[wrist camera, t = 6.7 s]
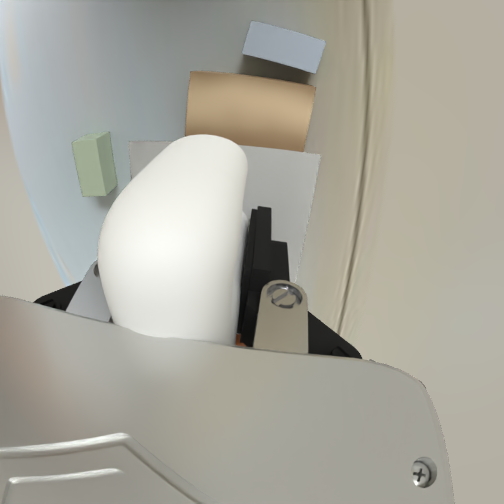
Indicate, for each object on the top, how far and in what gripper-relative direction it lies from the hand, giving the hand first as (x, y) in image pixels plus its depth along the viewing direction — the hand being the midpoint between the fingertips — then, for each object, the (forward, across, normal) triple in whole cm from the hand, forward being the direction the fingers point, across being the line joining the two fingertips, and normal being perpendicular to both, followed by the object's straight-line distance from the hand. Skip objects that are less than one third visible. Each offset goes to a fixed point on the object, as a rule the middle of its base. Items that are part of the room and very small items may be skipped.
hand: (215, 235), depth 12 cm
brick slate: (+18, -2, -8) cm, 20 cm away
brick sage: (+18, +15, +4) cm, 24 cm away
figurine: (+4, 0, 0) cm, 4 cm away
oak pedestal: (+18, 0, 0) cm, 18 cm away
